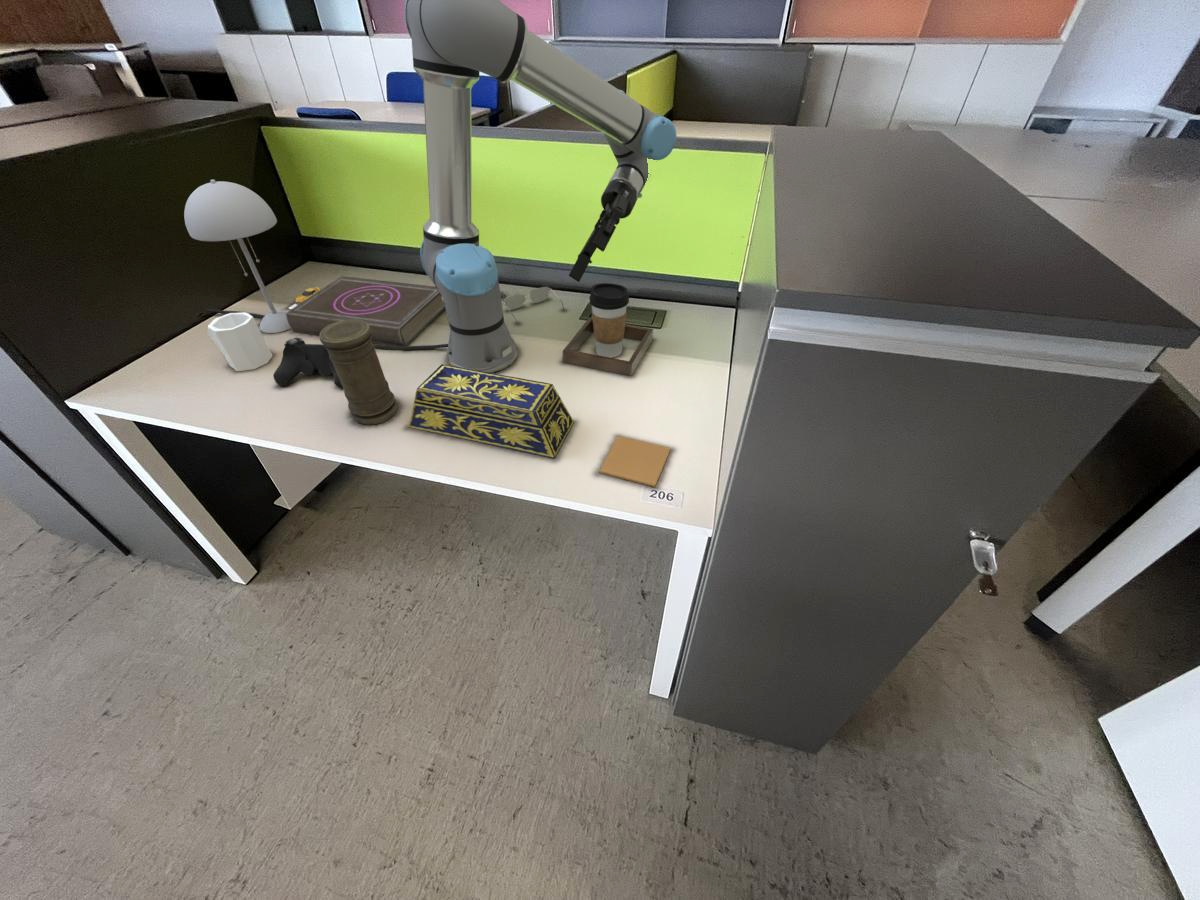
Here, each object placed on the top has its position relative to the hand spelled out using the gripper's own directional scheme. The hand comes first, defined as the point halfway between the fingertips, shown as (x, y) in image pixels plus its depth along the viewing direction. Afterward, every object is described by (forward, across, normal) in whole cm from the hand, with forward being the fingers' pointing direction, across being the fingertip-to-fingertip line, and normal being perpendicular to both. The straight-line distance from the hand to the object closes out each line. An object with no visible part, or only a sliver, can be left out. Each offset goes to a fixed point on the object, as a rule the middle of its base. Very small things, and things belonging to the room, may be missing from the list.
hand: (585, 263), depth 111 cm
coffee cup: (+10, +8, -15) cm, 20 cm away
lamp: (+31, +49, +55) cm, 80 cm away
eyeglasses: (+2, +27, +3) cm, 27 cm away
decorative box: (+41, +2, +1) cm, 41 cm away
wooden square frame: (+10, +8, -15) cm, 20 cm away
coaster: (+39, -15, -22) cm, 47 cm away
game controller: (+42, +28, +36) cm, 62 cm away
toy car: (+20, +55, +54) cm, 80 cm away
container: (+46, +15, +22) cm, 53 cm away
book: (+20, +41, +36) cm, 58 cm away
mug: (+44, +40, +53) cm, 80 cm away
